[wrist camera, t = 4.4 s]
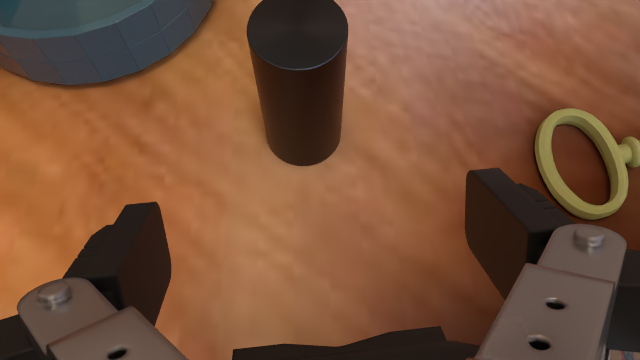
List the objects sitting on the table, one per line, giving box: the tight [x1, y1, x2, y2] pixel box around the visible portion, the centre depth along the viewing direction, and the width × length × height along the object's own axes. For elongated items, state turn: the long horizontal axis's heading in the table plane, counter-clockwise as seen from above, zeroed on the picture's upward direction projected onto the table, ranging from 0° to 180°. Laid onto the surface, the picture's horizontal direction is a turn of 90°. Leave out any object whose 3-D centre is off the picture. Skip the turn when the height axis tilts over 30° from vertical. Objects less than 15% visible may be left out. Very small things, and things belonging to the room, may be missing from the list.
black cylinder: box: [247, 0, 348, 166], centre depth 30 cm, size 5×5×10 cm
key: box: [535, 108, 640, 220], centre depth 34 cm, size 7×12×2 cm, turn 119°
